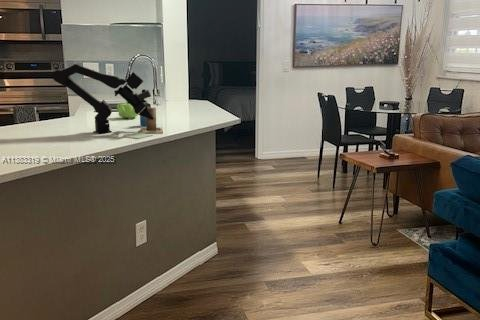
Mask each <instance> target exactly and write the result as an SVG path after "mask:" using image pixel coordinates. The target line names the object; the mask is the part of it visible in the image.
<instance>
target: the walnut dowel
mask: <svg viewBox="0 0 480 320" xmlns="http://www.w3.org/2000/svg"><path fill="white" fill-rule="evenodd" d="M147 110H148V111H149V113H150V114H151V115H152V117H153V118H154V119H153V120H151V119H149V118H146V127H145V128H146V130H145V131H157V130H156V127H157V108H156V107H151V108H147Z"/></svg>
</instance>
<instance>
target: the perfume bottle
mask: <svg viewBox="0 0 480 320" xmlns="http://www.w3.org/2000/svg"><path fill="white" fill-rule="evenodd" d="M146 103H147V107H148V108H152V105H151V103H148V102H146ZM139 123H140V125H139V126H141V127H144V128H146V117H143V116H141V115H139Z"/></svg>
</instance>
